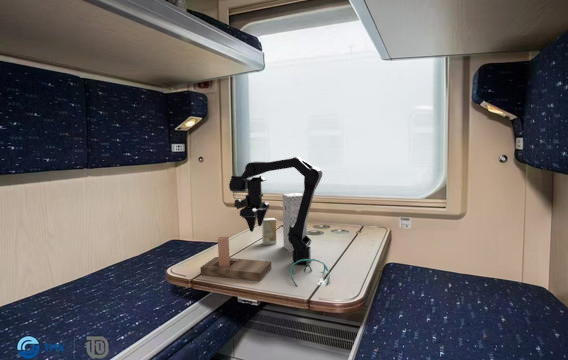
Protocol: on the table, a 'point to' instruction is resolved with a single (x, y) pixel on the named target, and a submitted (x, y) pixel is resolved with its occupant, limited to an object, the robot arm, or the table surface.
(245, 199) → the robot arm
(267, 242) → the skincare box
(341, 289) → the table surface
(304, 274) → the table surface
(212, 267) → the wooden peg hole board
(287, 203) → the box
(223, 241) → the terracotta peg block
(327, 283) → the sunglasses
